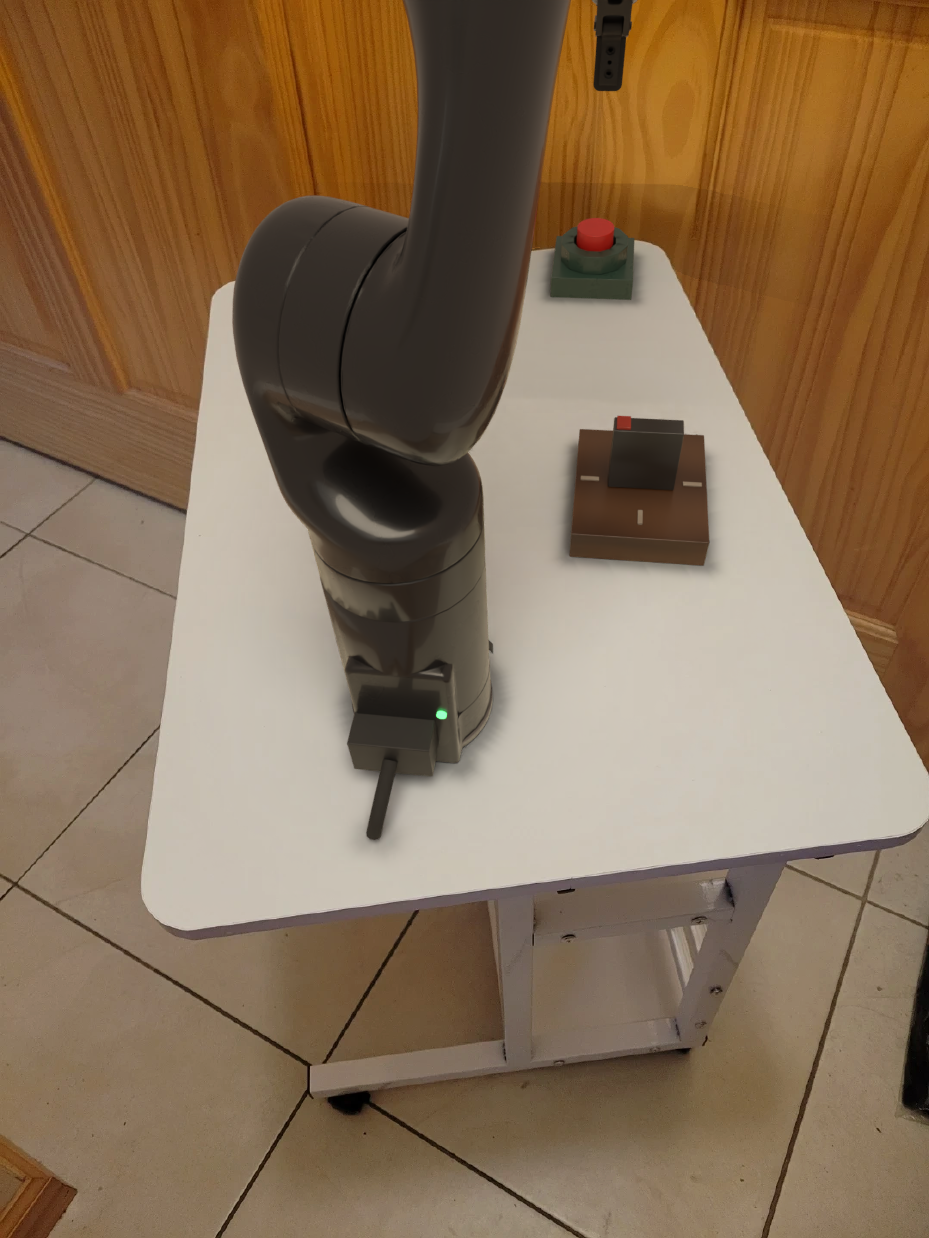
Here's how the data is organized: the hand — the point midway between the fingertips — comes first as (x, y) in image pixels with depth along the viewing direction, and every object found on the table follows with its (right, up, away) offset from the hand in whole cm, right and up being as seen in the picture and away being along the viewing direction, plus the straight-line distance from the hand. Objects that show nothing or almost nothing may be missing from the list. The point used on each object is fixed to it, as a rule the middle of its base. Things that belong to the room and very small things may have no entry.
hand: (607, 87), depth 70 cm
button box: (+2, -7, +21) cm, 23 cm away
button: (+2, -5, +19) cm, 19 cm away
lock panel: (+2, -33, +1) cm, 33 cm away
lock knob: (+2, -31, -1) cm, 31 cm away
